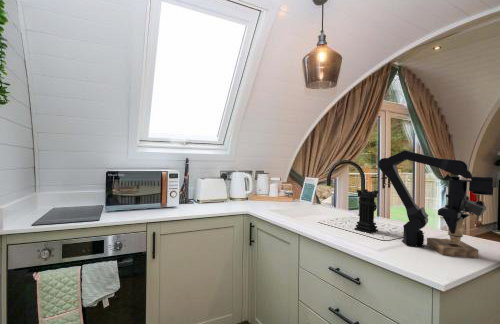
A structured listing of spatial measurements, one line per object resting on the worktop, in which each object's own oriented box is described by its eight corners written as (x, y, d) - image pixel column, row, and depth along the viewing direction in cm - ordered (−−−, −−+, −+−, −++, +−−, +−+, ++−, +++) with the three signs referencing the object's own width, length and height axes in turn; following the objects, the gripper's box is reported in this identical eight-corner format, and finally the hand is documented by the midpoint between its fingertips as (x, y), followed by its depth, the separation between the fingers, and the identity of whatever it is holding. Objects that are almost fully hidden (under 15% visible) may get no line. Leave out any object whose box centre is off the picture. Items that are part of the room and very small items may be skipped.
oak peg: (451, 243, 101) (453, 220, 101) (445, 239, 106) (446, 217, 105) (465, 244, 101) (466, 220, 100) (457, 240, 105) (459, 218, 105)
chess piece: (369, 233, 127) (370, 192, 127) (354, 229, 134) (355, 190, 133) (378, 231, 132) (379, 190, 131) (363, 227, 138) (364, 189, 138)
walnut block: (442, 255, 101) (442, 247, 101) (426, 244, 113) (427, 237, 113) (478, 257, 99) (478, 249, 99) (458, 246, 111) (458, 239, 111)
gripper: (475, 197, 91) (473, 242, 91) (491, 193, 102) (489, 234, 102) (438, 193, 100) (436, 234, 100) (456, 190, 111) (454, 227, 111)
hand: (455, 232), depth 103 cm, fingers closed on oak peg, 4 cm apart
